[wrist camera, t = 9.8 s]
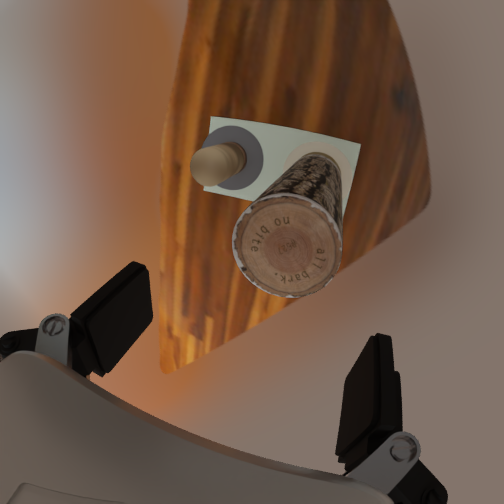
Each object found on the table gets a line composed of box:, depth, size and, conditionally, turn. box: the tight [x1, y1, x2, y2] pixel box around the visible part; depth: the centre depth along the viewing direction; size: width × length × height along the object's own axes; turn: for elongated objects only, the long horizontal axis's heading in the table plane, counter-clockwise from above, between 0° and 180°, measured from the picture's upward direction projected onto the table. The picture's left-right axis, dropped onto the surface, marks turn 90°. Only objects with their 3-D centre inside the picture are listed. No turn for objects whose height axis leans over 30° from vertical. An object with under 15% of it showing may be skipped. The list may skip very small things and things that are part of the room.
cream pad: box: [283, 141, 352, 201], centre depth 39 cm, size 10×10×1 cm
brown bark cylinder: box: [232, 152, 343, 298], centre depth 28 cm, size 7×7×25 cm
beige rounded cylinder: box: [190, 142, 247, 187], centre depth 38 cm, size 5×5×8 cm
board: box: [202, 116, 361, 215], centre depth 40 cm, size 12×23×1 cm, turn 81°
